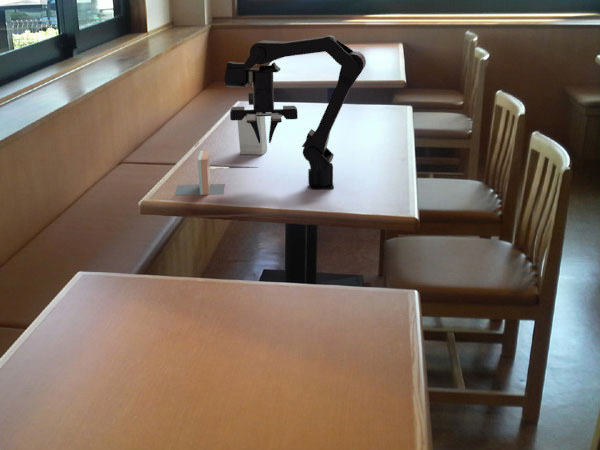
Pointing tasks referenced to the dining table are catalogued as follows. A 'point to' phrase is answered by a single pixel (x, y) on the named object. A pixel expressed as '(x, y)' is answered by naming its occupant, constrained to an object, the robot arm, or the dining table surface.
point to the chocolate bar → (227, 167)
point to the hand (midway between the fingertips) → (264, 142)
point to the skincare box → (252, 136)
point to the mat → (196, 189)
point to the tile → (204, 172)
